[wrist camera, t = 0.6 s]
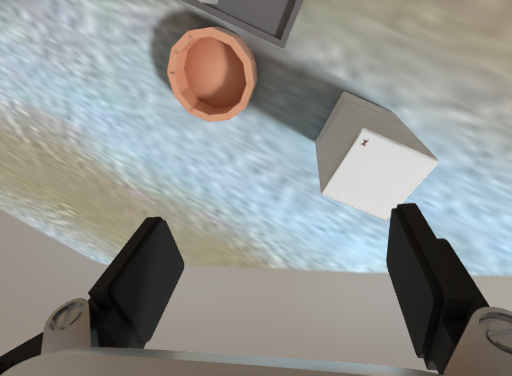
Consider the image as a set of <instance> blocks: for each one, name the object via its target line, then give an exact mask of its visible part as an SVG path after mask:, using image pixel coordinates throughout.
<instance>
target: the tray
mask: <svg viewBox="0 0 512 376" xmlns="http://www.w3.org/2000/svg"><path fill="white" fill-rule="evenodd" d="M182 1H184V2H186V3H189V4H191V5H193V6H195V7H197V8H199V9H201V10H203V11H205V12H208V13H210V14H212V15H214V16H216V17H218V18H220V19H222V20H225V21H227V22H229V23H231V24H233V25H235V26H237V27H239V28H241V29H244V30H246V31H248V32H250V33H252V34H254V35H256V36H258V37H261V38H263V39H265V40H267V41H269V42H271V43H273V44H275V45H277V46H280V47H282V48H284V46H285V44H286V41H287V39H288V36H289V34H290V31H291V29H292V27H293V24H294V22H295V19H296V17H297V14H298V12H299V9H300V7H301V5H302V2H303V0H218V3H217V4H209V3H202V2H200V1H198V0H182Z"/></svg>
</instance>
